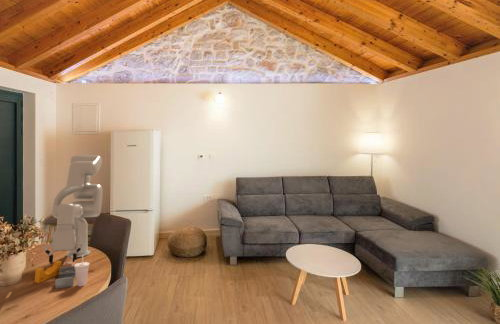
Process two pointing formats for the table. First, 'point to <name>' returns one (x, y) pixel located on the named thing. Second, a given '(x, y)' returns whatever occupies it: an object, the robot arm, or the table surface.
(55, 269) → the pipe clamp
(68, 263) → the peach two-stud bar
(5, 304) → the table surface
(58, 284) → the book ends
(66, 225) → the robot arm
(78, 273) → the pink drink cup
